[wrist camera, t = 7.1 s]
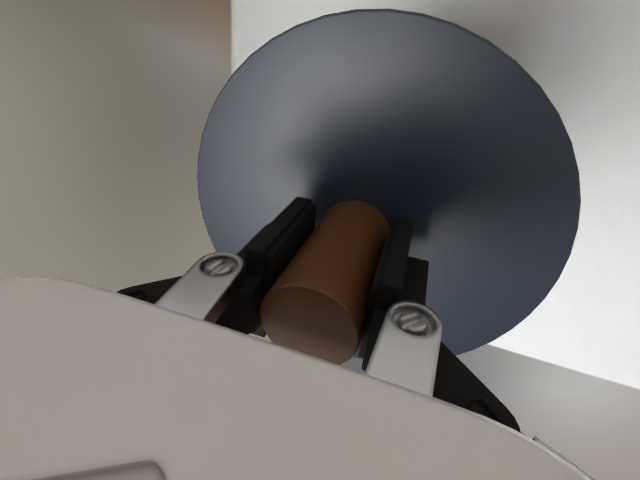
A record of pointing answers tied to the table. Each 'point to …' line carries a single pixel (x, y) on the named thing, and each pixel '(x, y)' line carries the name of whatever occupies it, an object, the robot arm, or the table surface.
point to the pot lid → (392, 174)
